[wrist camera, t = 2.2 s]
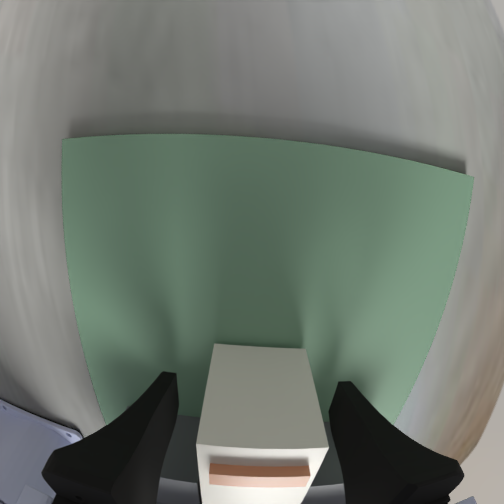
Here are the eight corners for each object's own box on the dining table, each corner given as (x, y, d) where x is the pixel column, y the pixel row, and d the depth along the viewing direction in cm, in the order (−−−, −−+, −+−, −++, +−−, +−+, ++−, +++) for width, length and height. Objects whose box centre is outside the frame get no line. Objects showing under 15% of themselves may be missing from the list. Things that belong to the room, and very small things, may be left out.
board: (125, 460, 18) (123, 466, 17) (69, 139, 11) (62, 139, 10) (357, 473, 18) (359, 478, 18) (466, 175, 11) (474, 177, 11)
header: (149, 466, 18) (128, 547, 11) (130, 398, 15) (88, 504, 8) (334, 476, 18) (349, 556, 11) (367, 411, 16) (404, 514, 8)
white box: (214, 463, 16) (205, 541, 10) (214, 343, 13) (194, 455, 7) (276, 466, 16) (281, 543, 10) (305, 348, 13) (331, 458, 7)
